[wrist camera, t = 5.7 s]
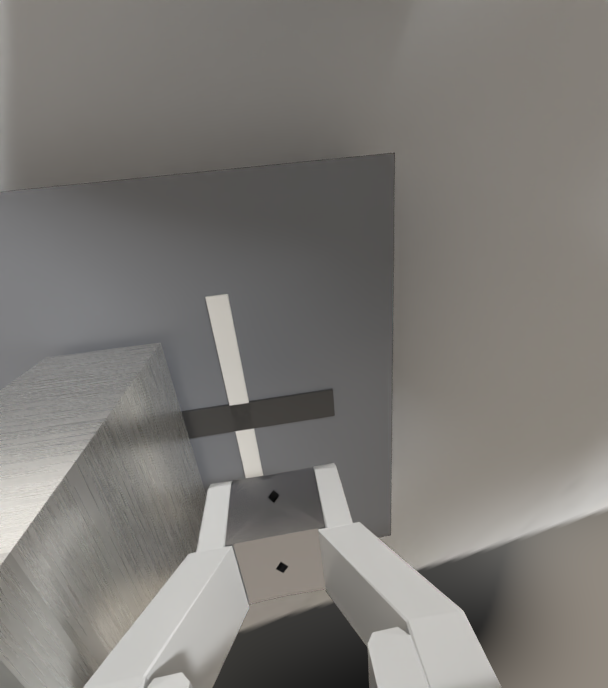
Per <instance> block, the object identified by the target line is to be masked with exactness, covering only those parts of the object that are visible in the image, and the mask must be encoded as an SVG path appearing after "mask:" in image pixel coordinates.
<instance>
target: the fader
mask: <svg viewBox="0 0 608 688" xmlns="http://www.w3.org/2000/svg"><path fill="white" fill-rule="evenodd" d="M205 501H206V493H205V490H204V486H203V483H202V480H201V476H200V473H199V470H198V466H197V463H196V459H195V456H194V453H193V449H192V446H191V443H190V439H189V436H188V433H187V429H186V426H185V422H184V419H183V416H182V412H181V409H180V406H179V402H178V399H177V395H176V392H175V389H174V385H173V382H172V379H171V375H170V372H169V369H168V365H167V362H166V358H165V355H164V352H163V348H162V345H161V342H160V343H153V344H145V345H138V346H131V347H123V348H116V349H108V350H101V351H93V352H86V353H79V354H71V355H64V356H56V357H49V358H45V359H43V360H42V361H41V362H39V363H38V364H36V365H35V366H34V367H32V368H31V369H29V370H28V371H27V372H25V373H24V374H22V375H21V376H20V377H18V378H17V379H15V380H14V381H13V382H11V383H10V384H9V385H7V386H6V387H4V388H3V389H2V390H0V688H83V687H84V686H85V684H86V683H87V682H88V681H89V679H90V678H91V677H92V675H93V674H94V673H95V672H96V670H97V669H98V668H99V667H100V665H101V664H102V663H103V662H104V660H105V659H106V658H107V656H108V655H109V654H110V653H111V651H112V650H113V649H114V648H115V646H116V645H117V644H118V643H119V641H120V640H121V639H122V637H123V636H124V635H125V634H126V632H127V631H128V630H129V629H130V627H131V626H132V625H133V624H134V622H135V621H136V620H137V618H138V617H139V616H140V615H141V613H142V612H143V611H144V610H145V608H146V607H147V606H148V605H149V603H150V602H151V601H152V599H153V598H154V597H155V596H156V594H157V593H158V592H159V591H160V589H161V588H162V587H163V586H164V584H165V583H166V582H167V580H168V579H169V578H170V577H171V575H172V574H173V573H174V572H175V570H176V569H177V568H178V567H179V565H180V564H181V563H182V561H183V560H184V559H185V558H186V556H187V555H188V554H190V553H194V552H196V549H197V544H198V538H199V533H200V528H201V522H202V517H203V512H204V506H205Z"/></svg>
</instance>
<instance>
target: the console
mask: <svg viewBox="0 0 608 688" xmlns="http://www.w3.org/2000/svg"><path fill="white" fill-rule="evenodd" d="M394 177H395V153H387V154H377V155H366V156H356V157H346V158H336V159H326V160H316V161H306V162H296V163H286V164H276V165H266V166H256V167H245V168H235V169H225V170H215V171H205V172H195V173H185V174H175V175H165V176H155V177H145V178H135V179H124V180H114V181H104V182H94V183H84V184H74V185H64V186H54V187H44V188H34V189H24V190H14V191H3V192H0V390H2V389H3V388H4V387H6V386H7V385H9V384H10V383H11V382H13V381H14V380H15V379H17V378H18V377H20V376H21V375H22V374H24V373H25V372H27V371H28V370H29V369H31V368H32V367H34V366H35V365H36V364H38V363H39V362H41V361H42V360H43V359H45V358H49V357H56V356H64V355H71V354H79V353H86V352H93V351H101V350H108V349H116V348H123V347H131V346H138V345H145V344H153V343H160V342H161V345H162V348H163V352H164V355H165V358H166V362H167V365H168V369H169V372H170V375H171V379H172V382H173V385H174V389H175V392H176V395H177V399H178V402H179V406H180V409H181V412H182V416H183V419H184V422H185V426H186V429H187V433H188V436H189V439H190V443H191V446H192V449H193V453H194V456H195V459H196V463H197V466H198V470H199V473H200V476H201V480H202V483H203V486H204V490H205V493H206V496H207V490H208V488H209V486H210V485H211V484H214V483H222V482H229V481H233V480H239V479H245V478H252V477H259V476H266V475H272V474H277V473H282V472H288V471H293V470H299V469H304V468H310V467H315V466H320V465H325V464H331V463H334V464H335V465H336V467H337V471H338V474H339V478H340V481H341V484H342V488H343V491H344V495H345V498H346V501H347V505H348V508H349V512H350V515H351V519H352V522H353V523H356V522H360V523H361V524H363V525H364V526H365V527H366V528H367V529H368V530H370V531H371V532H372V533H373V534H374V535H375V536H377V537H378V538H379V537H384V536H389V535H391V462H392V367H393V272H394Z"/></svg>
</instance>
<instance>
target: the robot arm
mask: <svg viewBox="0 0 608 688" xmlns="http://www.w3.org/2000/svg"><path fill="white" fill-rule="evenodd" d="M324 589H326V592H327V593H328V595H329V596H330V597H331V599H332V600H333V601H334V603H335V604H336V605H337V607H338V608H339V609H340V611H341V612H342V614H343V615H344V616H345V618H346V619H347V620H348V622H349V623H350V624H351V626H352V627H353V628H354V630H355V631H356V632H357V634H358V635H359V636H360V638H361V639H362V640H363V642H364V643H365V644H366V646H367V647H368V665H369V688H502V687H501V685H500V683H499V681H498V679H497V677H496V675H495V673H494V671H493V669H492V667H491V665H490V663H489V662H488V659H487V657H486V656H485V654H484V651H483V649H482V648H481V645H480V643H479V641H478V640H477V638H476V635H475V633H474V632H473V629H472V627H471V625H470V623H469V621H468V619H467V617H466V615H465V613H464V611H463V610H461V609H460V608H459V607H458V606H457V605H456V604H455V603H453V602H452V601H451V600H450V599H449V598H448V597H446V596H445V595H444V594H443V593H442V592H441V591H439V590H438V589H437V588H436V587H435V586H434V585H432V584H431V583H430V582H429V581H428V580H427V579H425V578H424V577H423V576H422V575H421V574H420V573H418V572H417V571H416V570H415V569H414V568H413V567H412V566H410V565H409V564H408V563H407V562H406V561H405V560H403V559H402V558H401V557H400V556H399V555H398V554H396V553H395V552H394V551H393V550H392V549H391V548H389V547H388V546H387V545H386V544H385V543H384V542H382V541H381V540H380V539H379V538H378V537H377V536H375V535H374V534H373V533H372V532H371V531H370V530H368V529H367V528H366V527H365V526H364V525H363V524H361V523H360V522H356V523H353V522H352V519H351V515H350V512H349V508H348V505H347V501H346V498H345V495H344V491H343V488H342V484H341V481H340V478H339V474H338V471H337V467H336V465H335V464H334V463H331V464H325V465H320V466H315V467H310V468H304V469H299V470H293V471H288V472H282V473H277V474H272V475H266V476H259V477H252V478H245V479H239V480H233V481H229V482H222V483H214V484H211V485H210V486H209V488H208V490H207V496H206V501H205V506H204V512H203V517H202V522H201V528H200V533H199V538H198V544H197V549H196V552H194V553H190V554H188V555H187V556H186V558H185V559H184V560H183V561H182V563H181V564H180V565H179V567H178V568H177V569H176V570H175V572H174V573H173V574H172V575H171V577H170V578H169V579H168V580H167V582H166V583H165V584H164V586H163V587H162V588H161V589H160V591H159V592H158V593H157V594H156V596H155V597H154V598H153V599H152V601H151V602H150V603H149V605H148V606H147V607H146V608H145V610H144V611H143V612H142V613H141V615H140V616H139V617H138V618H137V620H136V621H135V622H134V624H133V625H132V626H131V627H130V629H129V630H128V631H127V632H126V634H125V635H124V636H123V637H122V639H121V640H120V641H119V643H118V644H117V645H116V646H115V648H114V649H113V650H112V651H111V653H110V654H109V655H108V656H107V658H106V659H105V660H104V662H103V663H102V664H101V665H100V667H99V668H98V669H97V670H96V672H95V673H94V674H93V675H92V677H91V678H90V679H89V681H88V682H87V683H86V684H85V686H84V687H83V688H212V687H213V685H214V683H215V681H216V679H217V676H218V675H219V672H220V670H221V668H222V666H223V663H224V662H225V659H226V657H227V655H228V653H229V651H230V649H231V646H232V644H233V642H234V640H235V638H236V636H237V633H238V631H239V629H240V627H241V625H242V623H243V620H244V618H245V616H246V614H247V612H248V610H249V604H253V603H257V602H262V601H266V600H270V599H275V598H279V597H283V596H288V595H294V594H300V593H306V592H312V591H318V590H324Z"/></svg>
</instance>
